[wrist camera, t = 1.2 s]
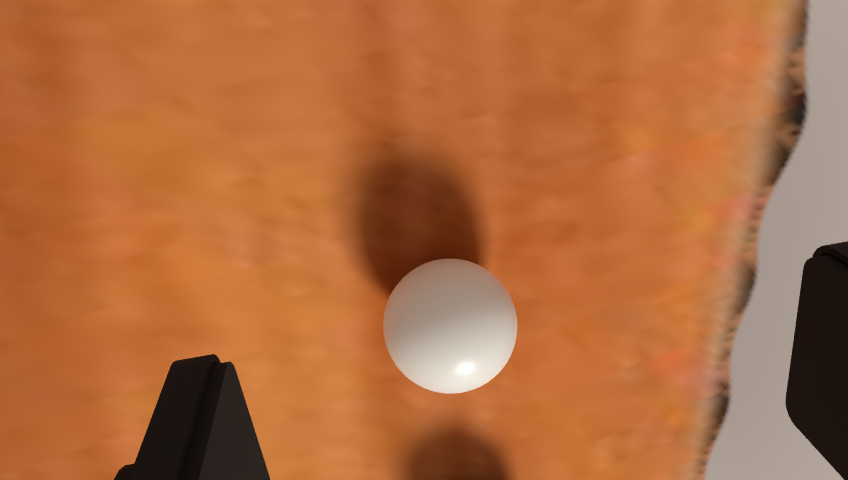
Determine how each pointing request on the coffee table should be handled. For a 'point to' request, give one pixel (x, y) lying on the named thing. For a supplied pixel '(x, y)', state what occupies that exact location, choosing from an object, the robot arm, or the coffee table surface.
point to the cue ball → (450, 325)
